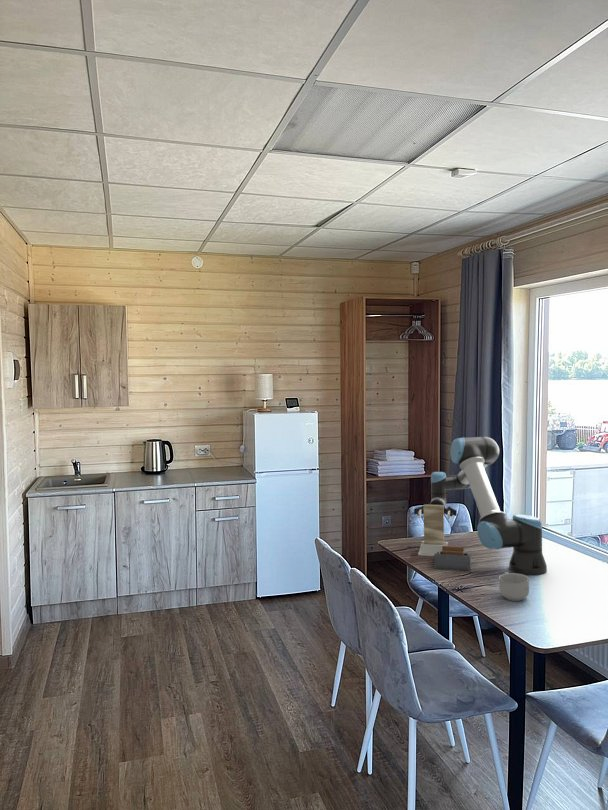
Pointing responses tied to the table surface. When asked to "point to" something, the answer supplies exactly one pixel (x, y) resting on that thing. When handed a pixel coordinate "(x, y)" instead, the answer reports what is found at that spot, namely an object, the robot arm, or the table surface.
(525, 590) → the teacup
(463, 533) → the table surface
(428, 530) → the birch sheet
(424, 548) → the stand
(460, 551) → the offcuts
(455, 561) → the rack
